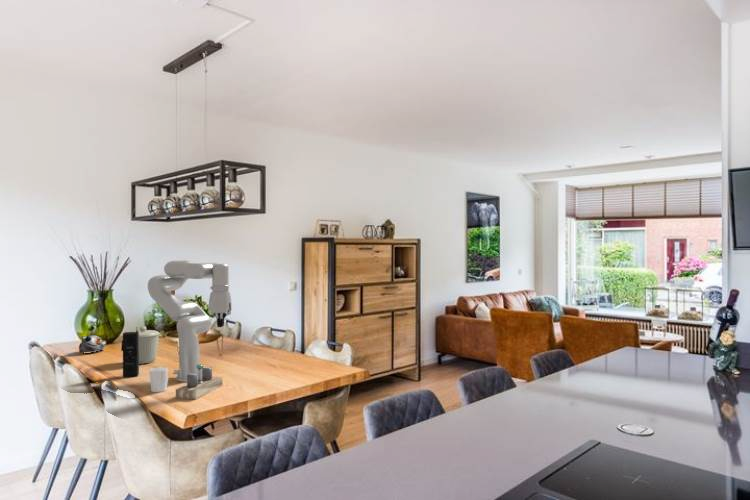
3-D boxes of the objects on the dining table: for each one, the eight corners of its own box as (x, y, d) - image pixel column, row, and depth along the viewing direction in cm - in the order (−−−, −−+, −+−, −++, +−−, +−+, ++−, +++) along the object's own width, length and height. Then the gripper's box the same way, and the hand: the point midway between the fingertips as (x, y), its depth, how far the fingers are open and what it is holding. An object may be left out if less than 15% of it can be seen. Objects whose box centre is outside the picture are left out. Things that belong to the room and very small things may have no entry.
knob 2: (200, 388, 228) (200, 368, 228) (205, 386, 232) (205, 366, 232) (208, 389, 227) (208, 368, 227) (213, 386, 231) (213, 366, 231)
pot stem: (195, 383, 222) (195, 365, 222) (198, 381, 225) (198, 364, 225) (201, 383, 222) (200, 366, 222) (204, 382, 225) (204, 364, 225)
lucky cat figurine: (106, 349, 320) (110, 332, 316) (100, 360, 310) (104, 342, 305) (81, 344, 316) (85, 326, 312) (74, 355, 305) (78, 337, 301)
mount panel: (175, 398, 214) (175, 389, 214) (203, 384, 235) (203, 376, 235) (196, 399, 212) (195, 390, 212) (222, 385, 233) (222, 377, 233)
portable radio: (120, 377, 248) (119, 329, 248) (123, 375, 254) (122, 327, 254) (137, 376, 250) (136, 328, 250) (139, 373, 256) (139, 326, 256)
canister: (159, 364, 278) (159, 327, 277) (124, 367, 271) (123, 329, 271) (160, 357, 294) (160, 323, 294) (127, 360, 288) (127, 325, 288)
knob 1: (185, 396, 216) (185, 375, 216) (190, 393, 220) (190, 372, 220) (194, 396, 215) (193, 375, 215) (199, 393, 219) (199, 373, 219)
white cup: (170, 387, 230) (170, 366, 230) (164, 392, 222) (164, 371, 222) (154, 388, 230) (153, 367, 230) (146, 393, 222) (146, 371, 222)
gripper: (202, 289, 233) (202, 327, 234) (230, 290, 230) (230, 328, 230) (211, 288, 241) (211, 325, 241) (238, 288, 237) (238, 326, 237)
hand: (220, 326), depth 235 cm, fingers closed
